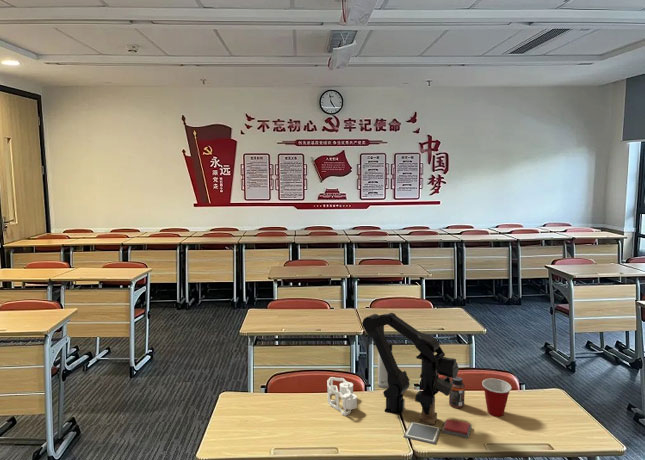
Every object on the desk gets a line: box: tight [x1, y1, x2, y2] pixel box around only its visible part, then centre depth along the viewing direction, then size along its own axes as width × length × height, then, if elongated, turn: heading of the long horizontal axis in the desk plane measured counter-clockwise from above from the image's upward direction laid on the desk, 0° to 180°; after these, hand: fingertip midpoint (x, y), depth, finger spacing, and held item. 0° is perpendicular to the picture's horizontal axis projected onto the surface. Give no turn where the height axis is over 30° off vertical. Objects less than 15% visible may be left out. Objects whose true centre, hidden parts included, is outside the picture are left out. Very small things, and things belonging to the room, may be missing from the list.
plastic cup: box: [481, 377, 513, 418], centre depth 178 cm, size 11×11×12 cm
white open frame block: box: [326, 376, 358, 417], centre depth 188 cm, size 20×11×7 cm, turn 4°
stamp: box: [418, 395, 438, 426], centre depth 174 cm, size 6×6×9 cm
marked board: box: [403, 421, 442, 445], centre depth 165 cm, size 11×11×1 cm
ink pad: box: [441, 418, 472, 439], centre depth 167 cm, size 9×8×2 cm
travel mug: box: [377, 341, 393, 390], centre depth 204 cm, size 6×7×20 cm
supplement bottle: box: [448, 376, 466, 409], centre depth 186 cm, size 6×6×11 cm
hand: (428, 411), depth 174 cm, fingers open, 5 cm apart
